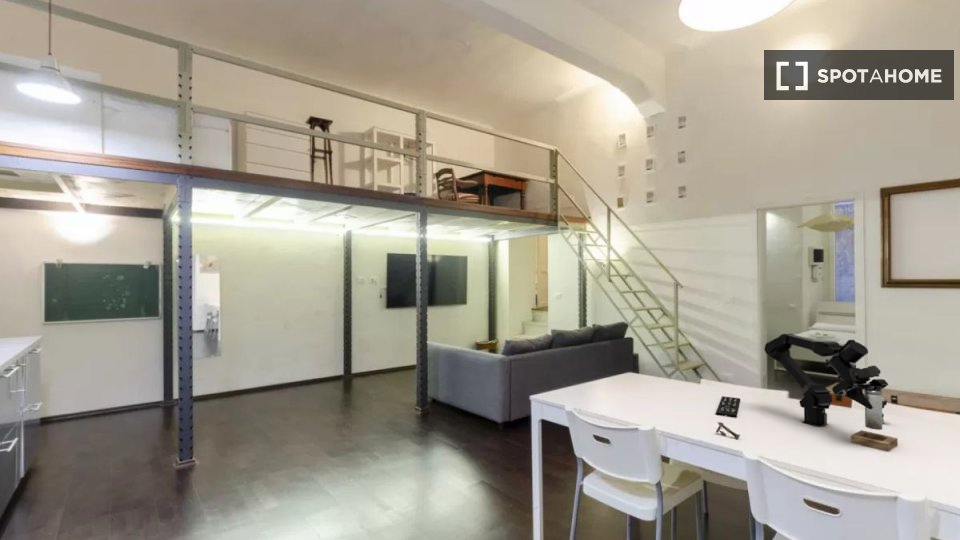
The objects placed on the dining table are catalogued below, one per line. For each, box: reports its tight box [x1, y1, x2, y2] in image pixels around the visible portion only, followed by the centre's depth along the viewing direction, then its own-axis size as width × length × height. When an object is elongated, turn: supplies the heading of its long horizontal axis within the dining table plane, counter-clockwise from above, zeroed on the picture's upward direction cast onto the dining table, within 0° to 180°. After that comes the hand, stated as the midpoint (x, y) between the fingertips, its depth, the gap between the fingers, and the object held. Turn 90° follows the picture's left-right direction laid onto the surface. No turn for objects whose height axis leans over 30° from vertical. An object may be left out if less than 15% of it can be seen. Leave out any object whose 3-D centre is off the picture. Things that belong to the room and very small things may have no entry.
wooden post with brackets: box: [715, 421, 741, 440], centre depth 166 cm, size 2×8×4 cm, turn 35°
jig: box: [850, 429, 899, 452], centre depth 157 cm, size 10×10×2 cm
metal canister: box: [864, 389, 883, 431], centre depth 158 cm, size 5×5×13 cm
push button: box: [882, 397, 888, 424], centre depth 180 cm, size 7×5×10 cm
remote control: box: [715, 395, 741, 418], centre depth 202 cm, size 8×32×2 cm, turn 147°
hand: (877, 408), depth 156 cm, fingers closed on metal canister, 5 cm apart
